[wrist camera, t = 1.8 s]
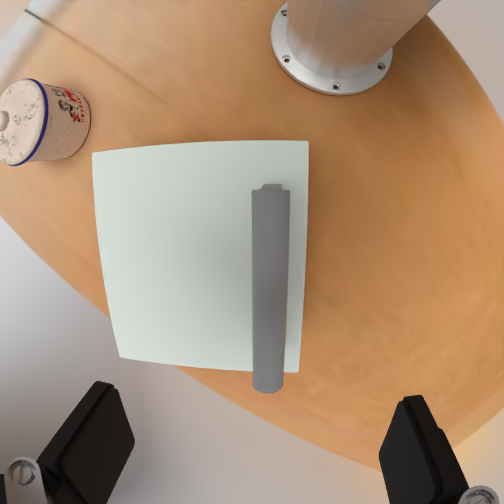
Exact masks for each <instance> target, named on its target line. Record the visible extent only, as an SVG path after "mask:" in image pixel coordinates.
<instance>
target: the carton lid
mask: <svg viewBox="0 0 504 504" xmlns="http://www.w3.org/2000/svg"><path fill="white" fill-rule="evenodd" d="M92 168H93V188H94V202H95V214H96V224H97V234H98V242H99V250H100V257H101V264H102V271H103V277H104V284H105V289H106V295H107V300H108V306H109V311H110V316H111V321H112V325H113V330H114V334H115V339H116V343H117V347H118V351H119V355H120V357H122V358H127V359H134V360H140V361H148V362H156V363H163V364H171V365H180V366H189V367H199V368H211V369H224V370H239V371H253V387H254V388H255V389H256V390H257V391H259V392H262V393H274V392H277V391H279V390H280V389H281V388H282V386H283V375H284V372H298V369H299V358H300V346H301V333H302V319H303V304H304V287H305V268H306V245H307V216H308V141H285V140H249V141H214V142H194V143H179V144H166V145H155V146H144V147H135V148H126V149H118V150H110V151H103V152H96V153H92Z"/></svg>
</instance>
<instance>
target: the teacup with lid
mask: <svg viewBox="0 0 504 504" xmlns="http://www.w3.org/2000/svg"><path fill="white" fill-rule="evenodd" d="M89 126H90V110H89V106H88V104H87V102H86V100H85V98H84V97H83V96H82V95H81V94H79V93H78V92H76V91H72V90H68V89H64V88H60V87H55V86H51V85H47V84H42V83H39V82H38V81H36V80H34V79H23V80H19V81H17V82H15V83H13V84H12V85H11V86H9V87H8V88H7V89H6V90H5V92H4V93H3V94H2V96H1V97H0V160H1V161H2V162H3V163H5V164H8V165H10V166H18V165H21V164H23V163H25V162H35V161H47V160H60V159H65V158H68V157H70V156H71V155H73V154H74V153H75V152H76V151H77V150H78V149H79V148H80V147H81V146H82V144H83V142H84V141H85V139H86V136H87V134H88V130H89Z"/></svg>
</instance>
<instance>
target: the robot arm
mask: <svg viewBox="0 0 504 504" xmlns="http://www.w3.org/2000/svg"><path fill="white" fill-rule="evenodd" d="M439 1H440V0H287V2H286V3H285V4H284V5H283V6H282V7H281V8H280V9H279V10H278V12H277V13H276V15H275V16H274V19H273V22H272V25H271V33H270V38H271V45H272V49H273V53H274V55H275V57H276V59H277V61H278V63H279V64H280V66H281V67H282V68H283V70H284V71H285V72H286V73H287V74H288V75H289V76H290V77H291V78H293V79H294V80H295V81H297V82H298V83H300V84H301V85H303V86H304V87H307V88H309V89H311V90H313V91H316V92H320V93H323V94H327V95H336V96H343V95H352V94H357V93H361V92H363V91H365V90H367V89H369V88H371V87H372V86H374V85H375V84H377V83H378V82H379V81H380V80H381V79H382V78H383V77H384V76H385V74H386V73H387V71H388V69H389V67H390V64H391V61H392V55H393V45H394V44H395V43H396V42H397V41H398V40H399V39H400V38H402V37H403V36H404V35H405V34H406V33H407V32H408V31H409V30H410V29H411V28H412V27H413V26H414V25H415V24H416V23H417V22H418V21H419V20H420V19H422V18H423V17H424V16H425V15H426V14H427V13H428V12H429V11H430V10H431V9H432V8H433V7H434V6H435V5H436V4H437V3H438V2H439ZM283 15H287V16H283ZM285 59H288V60H289V62H287V63H286V62H284V60H285ZM377 66H379V67H380V68H381V70H380V69H379V68H378V67H377ZM333 86H336V87H337V88H338V89H337V90H334V89H333ZM134 443H135V439H134V436H133V433H132V430H131V428H130V425H129V422H128V419H127V417H126V414H125V411H124V408H123V405H122V402H121V399H120V395H119V392H118V390H117V389H115V388H114V386H113V385H112V384H110V383H105V382H100V381H96V382H95V383H94V384H93V385H92V387H91V388H90V389H89V391H88V392H87V393H86V394H85V396H84V397H83V398H82V400H81V401H80V402H79V403H78V405H77V406H76V408H75V409H74V410H73V411H72V413H71V414H70V415H69V417H68V418H67V419H66V421H65V422H64V423H63V425H62V426H61V427H60V429H59V430H58V432H57V433H56V434H55V435H54V437H53V438H52V440H51V441H50V442H49V444H48V445H47V447H46V448H45V449H44V451H43V452H42V453H41V455H40V456H39V457H38V460H37V461H36V462H35V461H34V460H33V459H31V458H28V457H18V458H14V459H13V460H11V461H10V462H9V463H8V464H7V465H6V468H5V470H4V474H0V504H106V503H107V501H108V499H109V497H110V495H111V493H112V491H113V489H114V486H115V484H116V482H117V480H118V478H119V476H120V474H121V472H122V470H123V468H124V465H125V464H126V462H127V460H128V457H129V456H130V453H131V451H132V449H133V447H134ZM379 461H380V465H381V469H382V473H383V477H384V481H385V485H386V489H387V493H388V498H389V502H390V504H499V499H498V496H497V494H496V493H495V492H494V491H493V490H492V489H490V488H489V487H486V486H474V487H472V488H469V486H468V484H467V481H466V479H465V477H464V474H463V472H462V470H461V468H460V465H459V463H458V461H457V459H456V456H455V454H454V452H453V450H452V448H451V446H450V444H449V442H448V439H447V437H446V435H445V433H444V432H443V430H442V429H440V428H438V426H437V424H436V422H435V420H434V418H433V416H432V414H431V412H430V410H429V408H428V406H427V404H426V402H425V400H424V398H423V396H422V395H414V396H407V397H404V398H403V400H402V401H400V402H399V403H398V404H397V407H396V410H395V413H394V416H393V418H392V421H391V424H390V426H389V429H388V431H387V434H386V436H385V439H384V441H383V444H382V446H381V449H380V451H379Z"/></svg>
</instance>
